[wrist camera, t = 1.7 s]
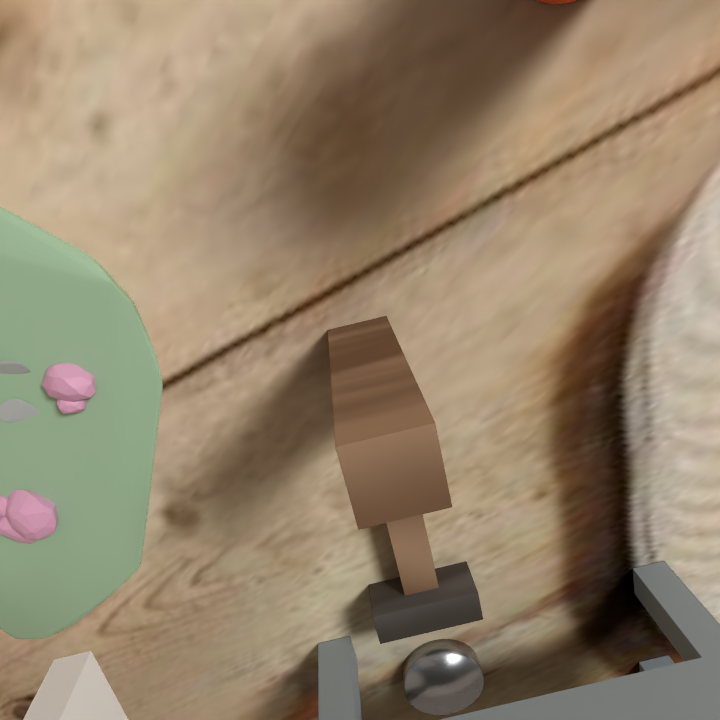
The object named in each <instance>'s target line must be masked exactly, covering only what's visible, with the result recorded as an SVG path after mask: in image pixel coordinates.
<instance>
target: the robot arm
mask: <svg viewBox="0 0 720 720" xmlns="http://www.w3.org/2000/svg"><path fill="white" fill-rule="evenodd" d="M23 720H128V718H127V716H126V715H125V713H124V711H123V709H122V707H121V705H120V704H119V702H118V700H117V698H116V696H115V694H114V692H113V691H112V689H111V687H110V685H109V683H108V681H107V680H106V678H105V676H104V674H103V672H102V670H101V668H100V667H99V665H98V663H97V661H96V659H95V657H94V656H93V654H92V652H91V651H88V652H84V653H80V654H76V655H72V656H68V657H64V658H59V659H55V660H54V661H53V663H52V665H51V667H50V668H49V670H48V672H47V674H46V676H45V678H44V680H43V682H42V684H41V686H40V688H39V690H38V692H37V694H36V696H35V697H34V699H33V701H32V703H31V705H30V707H29V709H28V711H27V713H26V715H25V717H24V719H23Z"/></svg>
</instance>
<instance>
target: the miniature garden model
mask: <svg viewBox="0 0 720 720" xmlns="http://www.w3.org/2000/svg"><path fill="white" fill-rule="evenodd" d="M161 397H162V379H161V375H160V370H159V365H158V361H157V357H156V354H155V351H154V349H153V346H152V344H151V341H150V339H149V336H148V334H147V331H146V329H145V327H144V324H143V322H142V320H141V318H140V316H139V314H138V311H137V309H136V307H135V305H134V303H133V302H132V300H131V299H130V298H129V297H128V296H127V295H126V293H125V292H124V291H123V290H122V289H121V288H120V287H119V286H118V284H117V283H116V282H115V281H114V280H113V279H112V278H111V276H110V275H109V274H108V273H107V272H106V271H105V270H104V269H103V267H102V266H101V265H100V264H99V263H98V262H97V261H95V260H94V259H93V258H92V257H91V256H90V255H88V254H87V253H86V252H84V251H82V250H80V249H78V248H77V247H75V246H73V245H71V244H69V243H67V242H66V241H64V240H62V239H60V238H58V237H56V236H54V235H52V234H51V233H49V232H47V231H45V230H43V229H41V228H39V227H38V226H36V225H34V224H32V223H30V222H28V221H26V220H24V219H23V218H21V217H19V216H17V215H15V214H13V213H11V212H9V211H7V210H5V209H3V208H1V207H0V629H2V630H3V631H5V632H6V633H8V634H9V635H11V636H13V637H14V638H16V639H41V638H46V637H50V636H52V635H54V634H56V633H58V632H60V631H62V630H64V629H65V628H67V627H69V626H71V625H73V624H74V623H76V622H78V621H79V620H80V619H82V618H83V617H84V616H86V615H87V614H88V613H90V612H91V611H92V610H93V609H95V608H96V607H97V606H99V605H100V604H101V603H102V602H104V601H105V600H106V599H107V598H108V597H109V596H110V595H112V594H113V593H114V592H115V591H116V590H117V589H118V588H119V587H120V586H121V585H122V584H123V583H125V582H126V581H127V580H128V579H129V577H130V576H131V575H132V574H133V573H134V572H135V571H136V570H137V569H138V567H139V566H140V564H141V559H142V552H143V544H144V537H145V529H146V521H147V513H148V504H149V496H150V488H151V480H152V471H153V463H154V455H155V447H156V438H157V430H158V422H159V413H160V405H161Z"/></svg>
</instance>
